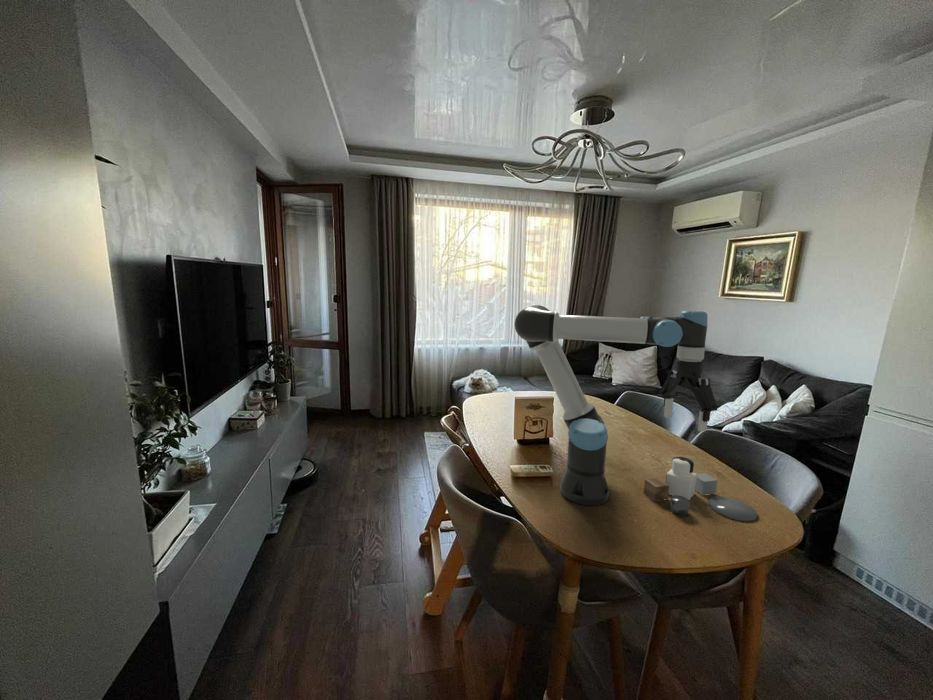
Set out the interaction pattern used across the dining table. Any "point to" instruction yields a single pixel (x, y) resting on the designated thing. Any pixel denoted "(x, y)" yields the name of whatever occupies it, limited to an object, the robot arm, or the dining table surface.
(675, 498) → the metal tin
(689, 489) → the medicine bottle
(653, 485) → the walnut block
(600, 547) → the dining table surface
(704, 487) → the grey block
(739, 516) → the slate coaster
